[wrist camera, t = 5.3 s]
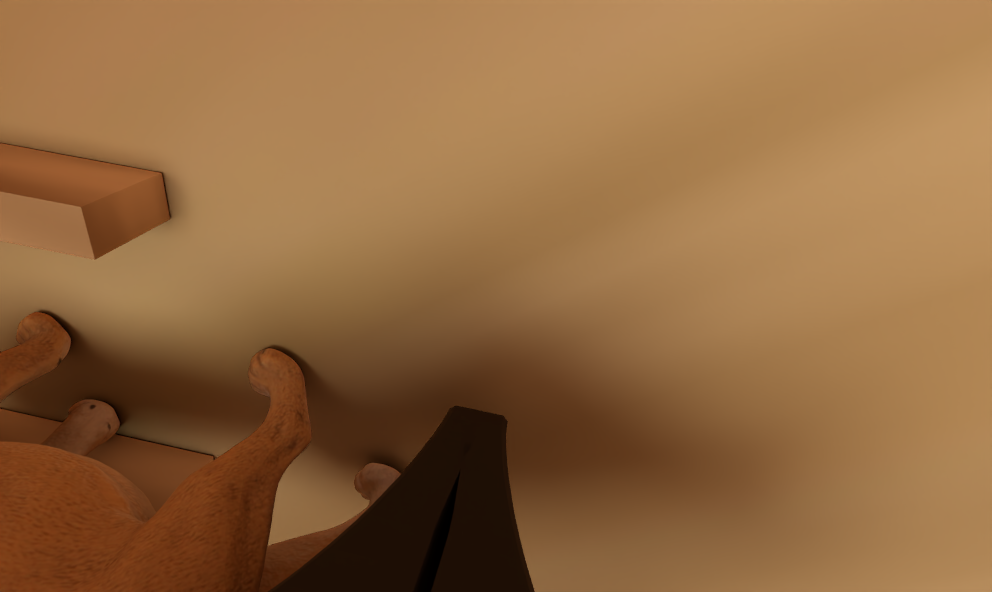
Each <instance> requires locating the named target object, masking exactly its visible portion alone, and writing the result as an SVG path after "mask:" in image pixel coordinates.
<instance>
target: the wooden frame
mask: <svg viewBox="0 0 992 592" xmlns="http://www.w3.org/2000/svg"><path fill="white" fill-rule="evenodd" d="M169 219H170V216H169V211H168V205H167V200H166V194H165V189H164V183H163V178H162V173H159V172H154V171H148V170H143V169H137V168H132V167H127V166H121V165H116V164H110V163H105V162H99V161H94V160H89V159H83V158H78V157H72V156H67V155H62V154H56V153H51V152H45V151H40V150H35V149H29V148H24V147H18V146H13V145H8V144H2V143H0V241H4V242H9V243H14V244H19V245H24V246H29V247H34V248H39V249H44V250H49V251H54V252H59V253H64V254H69V255H74V256H79V257H84V258H89V259H94V260H95V259H97V258H99V257H101V256H103V255H104V254H106V253H108V252H110V251H112V250H114V249H116V248H117V247H119V246H121V245H123V244H125V243H127V242H129V241H130V240H132V239H134V238H136V237H138V236H140V235H142V234H143V233H145V232H147V231H149V230H151V229H153V228H155V227H156V226H158V225H160V224H162V223H164V222H166V221H168V220H169ZM61 424H62V422H57V421H53V420H48V419H44V418H39V417H35V416H31V415H26V414H22V413H17V412H13V411H8V410H4V409H0V441H1V442H20V443H31V444H41V443H42V442H43V441H45V440H46V439H47V438H48V437H49V436H50V435H51V434H52V433H53V432H54V431H55V430H56V429H57V428H58V427H59V426H60V425H61ZM85 457H89V458H92V459H94V460H97V461H99V462H101V463H103V464H105V465H107V466H109V467H110V468H112V469H114V470H116V471H118V472H119V473H120V474H122V475H123V476H124V477H126V478H127V479H128V480H130V481H131V482H132V483H133V484H134V485H136V486H137V487H138V488H139V489H140V490H141V491H142V492H143V493H144V494H145V495H146V497H147V498H148V499H149V501H150V503H151V504H152V506H153V508H154V509H155V511H156V512H157V511H158V510H159V509H160V508H161V507H162V506H163V505H164V503H165V502H166V501H167V500H168V499H169V497H170V496H171V495H172V493H173V492H174V491H175V490H176V489H177V487H178V486H179V485H180V484H181V483H182V482H183V481H184V480H185V479H186V478H187V477H188V476H189V475H190V474H192V473H193V472H195V471H197V470H198V469H200V468H201V467H203V466H205V465H206V464H208V463H210V462H212V461H213V460H214V458H213V456H209V455H204V454H200V453H195V452H191V451H187V450H182V449H178V448H173V447H169V446H164V445H160V444H155V443H151V442H146V441H142V440H138V439H133V438H129V437H124V436H120V435H115V434H114V435H113V436H112V437H111V438H109V439H108V440H107V441H106V442H104V443H103V444H101V445H100V446H98V447H97V448H95V449H94V450H93V451H91V452H90V453H89V454H87V455H86V456H85Z"/></svg>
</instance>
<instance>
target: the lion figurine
mask: <svg viewBox="0 0 992 592" xmlns="http://www.w3.org/2000/svg"><path fill="white" fill-rule="evenodd" d="M16 340H17V341H18V342H19V343H20V344H21V345H18V346H16V347H13V348H11V349H8V350H5V351H2V352H0V402H1V401H3V400H4V399H5V398H6V397H7V396H8V395H10V394H11V393H13V392H14V391H15V390H17V389H19V388H20V387H22V386H23V385H25V384H27V383H28V382H30V381H32V380H34V379H36V378H38V377H40V376H42V375H44V374H46V373H48V372H50V371H52V370H53V369H54V368H56V367H57V366H58V365H59V364H60V362H61V361H62V360H63V359H64V357H65V356H66V355H67V354H68V351H69V349H70V344H71V338H70V336H69V334H68V333H67V332H66V331H65V330H64V329H63V328H62V327H61V325H60V324H59V323H58V322H57V321H56V320H55V319H54V318H52V317H51V316H50V315H47V314H44V313H39V312H34V313H32V314H30V315H28V316H27V317H26V318H24V319H23V320H22V321H21V322H20V324H19V326H18V332H17V335H16ZM248 376H249V381H250V384H251V387H252V388H253V390H255V391H256V392H258V393H260V394H262V395H265V396H268V397H270V408H269V411H268V414H267V416H266V418H265V420H264V422H263V423H262V425H261V426H260V427H259V428H258V429H257V430H256V431H255V432H254V433H253V434H252V435H250V436H249V437H248V438H246V439H245V440H243V441H242V442H240V443H238V444H237V445H236V446H234V447H233V448H231V449H230V450H228V451H227V452H226V453H224V454H223V455H221V456H220V457H218V458H217V459H215V460H213V461H212V462H210V463H208V464H206V465H205V466H203V467H201V468H200V469H198V470H197V471H195V472H193V473H192V474H190V475H189V476H188V477H187V478H186V479H185V480H184V481H183V482H182V483H181V484H180V485H179V486H178V487H177V489H176V490H175V491H174V492H173V493H172V495H171V496H170V497H169V499H168V500H167V501H166V502H165V503H164V505H163V506H162V507H161V508H160V509H159V510H158V511H157V512H156V511H155V509H154V508H153V506H152V504H151V503H150V501H149V499H148V498H147V497H146V495H145V494H144V493H143V492H142V491H141V490H140V489H139V488H138V487H137V486H136V485H134V484H133V483H132V482H131V481H130V480H128V479H127V478H126V477H124V476H123V475H122V474H120V473H119V472H118V471H116V470H114V469H112V468H110V467H109V466H107V465H105V464H103V463H101V462H99V461H97V460H94V459H92V458H89V457H85V456H86V455H87V454H89V453H90V452H91V451H93V450H94V449H95V448H97V447H98V446H100V445H101V444H103V443H104V442H106V441H107V440H108V439H109V438H111V437H112V436H113V435H114V434H115V433H116V432H117V431H118V429H119V427H120V422H119V419H118V417H117V415H116V413H115V411H114V409H113V408H112V407H111V406H110V405H109V404H107V403H105V402H102V401H98V400H93V399H88V400H82V401H79V402H77V403H75V404H74V405H73V406H72V407H71V408H70V409H69V412H68V413H69V416H68V417H67V418H66V419H65V421H64V422H63V423H62V424H61V425H60V426H59V427H58V428H57V429H56V430H55V431H54V432H53V433H52V434H51V435H50V436H49V437H48V438H47V439H46V440H45V441H43V442H42V443H41V444H31V443H20V442H1V441H0V592H268V591H269V590H271V589H272V588H274V587H275V586H276V585H278V584H279V583H281V582H282V581H283V580H285V579H286V578H287V577H289V576H290V575H291V574H293V573H294V572H295V571H297V570H298V569H299V568H300V567H302V566H303V565H304V564H306V563H307V562H308V561H309V560H310V559H312V558H313V557H314V556H315V555H316V554H318V553H319V552H320V551H321V550H323V549H324V548H325V547H326V546H327V545H329V544H330V543H331V542H332V541H333V540H335V539H336V538H337V537H338V536H339V535H340V534H341V533H342V532H344V531H345V530H346V529H347V528H348V527H349V526H350V525H351V524H352V523H354V522H355V521H356V520H357V519H358V518H359V517H360V516H361V515H362V514H363V513H364V512H365V511H366V510H367V509H368V508H369V507H370V506H371V505H372V504H373V503H374V502H375V501H376V500H377V499H378V498H379V497H380V496H381V495H382V494H383V493H384V492H385V491H386V490H387V489H388V488H389V486H390V485H391V484H392V483H393V482H394V481H395V480H396V479H397V478H398V477H399V476H400V475H401V474H400V473H399V472H398V471H397V470H396V469H394V468H392V467H390V466H387V465H384V464H379V463H369V464H367V465H366V466H365V467H364V468H363V469H362V470H360V472H359V473H358V474H357V475H356V477H355V481H354V485H355V489H356V490H357V491H358V492H359V493H361V495H362V497H364V498H365V499H367V500H370V503H369V505H368V507H367V508H366V509H364V510H363V511H362V512H361V513H359V514H358V515H356V516H355V517H353V518H352V519H350V520H348V521H347V522H345V523H343V524H341V525H338V526H336V527H334V528H331V529H328V530H324V531H319V532H315V533H311V534H308V535H304V536H300V537H297V538H293V539H290V540H286V541H283V542H279V543H275V544H272V545H270V546H267V545H268V540H269V535H270V529H271V522H272V514H273V508H274V502H275V495H276V491H277V487H278V483H279V481H280V479H281V477H282V475H283V473H284V472H285V470H286V469H287V467H288V466H289V465H290V464H291V463H292V461H293V460H294V459H295V458H296V457H297V456H298V455H299V454H300V453H301V452H303V451H304V450H305V449H306V448H307V446H308V445H309V443H310V442H311V437H312V430H311V424H310V419H309V414H308V407H307V399H306V388H305V382H304V376H303V374H302V371H301V369H300V367H299V366H298V365H297V363H296V362H295V361H294V360H293V359H292V358H290V357H289V356H287V355H286V354H284V353H282V352H281V351H278V350H275V349H271V348H268V349H264V350H262V351H260V352H258V353H256V354H255V355H254V356H253V358H252V359H251V363H250V366H249V370H248Z"/></svg>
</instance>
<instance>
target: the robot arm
mask: <svg viewBox="0 0 992 592" xmlns="http://www.w3.org/2000/svg"><path fill="white" fill-rule="evenodd" d="M507 422H508V421H507V420H506V419H505V417H504V416H502V415H497V414H492V413H488V412H483V411H478V410H474V409H469V408H464V407H459V406H454V407H453V408H451V409H450V410H449V412H448V413H447V415H446V417H445V418H444V420H443V421H442V423H441V424H440V426H439V427H438V429H437V430H436V431H435V433H434V434H433V436H432V437H431V438H430V440H429V441H428V442H427V443H426V445H425V446H424V447H423V449H422V450H421V451H420V452H419V453H418V455H417V456H416V457H415V458H414V459H413V461H412V462H411V463H410V464H409V465H408V466H407V468H406V469H405V470H404V471H403V472H402V474H401V475H400V476H399V477H398V478H397V479H396V480H395V481H394V482H393V483H392V484H391V485H390V486H389V488H388V489H387V490H386V491H385V492H384V493H383V494H382V495H381V496H380V497H379V498H378V499H377V500H376V501H375V502H374V503H373V504H372V505H371V506H370V507H369V508H368V509H367V510H366V511H365V512H364V513H363V514H362V515H361V516H360V517H359V518H358V519H357V520H356V521H355V522H354V523H352V524H351V525H350V526H349V527H348V528H347V529H346V530H345V531H344V532H342V533H341V534H340V535H339V536H338V537H337V538H336V539H335V540H333V541H332V542H331V543H330V544H329V545H327V546H326V547H325V548H324V549H323V550H321V551H320V552H319V553H318V554H316V555H315V556H314V557H313V558H312V559H310V560H309V561H308V562H307V563H306V564H304V565H303V566H302V567H300V568H299V569H298V570H297V571H295V572H294V573H293V574H291V575H290V576H289V577H287V578H286V579H285V580H283V581H282V582H281V583H279V584H278V585H276V586H275V587H274V588H272V589H271V590H269V591H268V592H534V588H533V585H532V582H531V578H530V575H529V571H528V568H527V564H526V561H525V557H524V553H523V549H522V545H521V541H520V537H519V532H518V528H517V524H516V519H515V514H514V509H513V503H512V497H511V490H510V484H509V477H508V468H507V456H506V428H507Z"/></svg>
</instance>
